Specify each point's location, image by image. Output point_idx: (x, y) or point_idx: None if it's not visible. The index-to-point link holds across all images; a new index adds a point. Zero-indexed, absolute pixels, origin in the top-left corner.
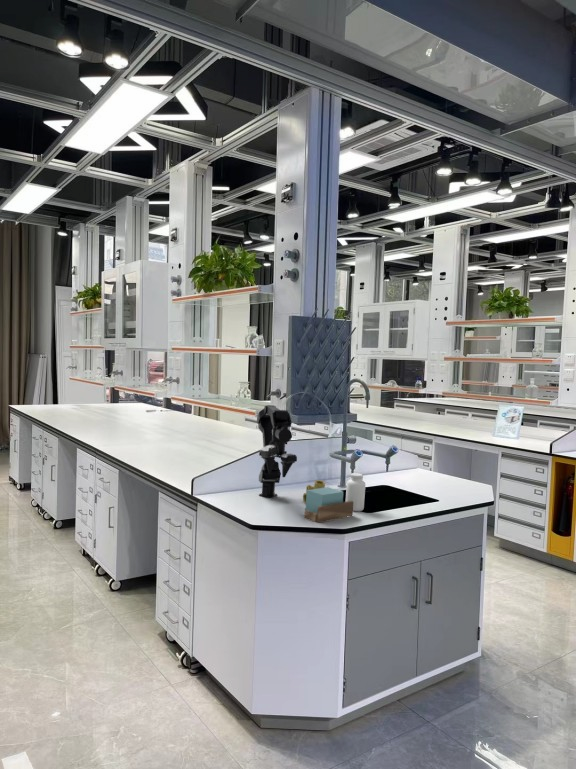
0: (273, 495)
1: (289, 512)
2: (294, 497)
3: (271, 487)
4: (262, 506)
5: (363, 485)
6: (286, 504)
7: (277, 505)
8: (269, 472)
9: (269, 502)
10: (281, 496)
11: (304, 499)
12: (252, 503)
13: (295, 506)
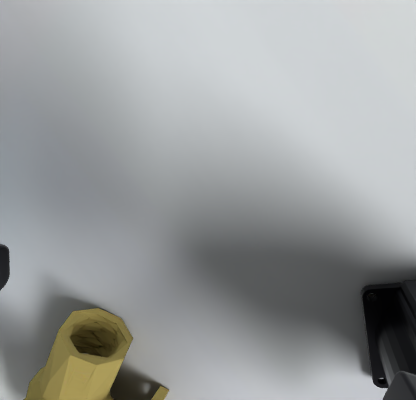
0: (372, 332)
1: (20, 43)
2: (246, 394)
3: (404, 364)
4: (253, 3)
5: None
6: (168, 209)
7: (191, 135)
8: (399, 387)
9: (291, 163)
10: (329, 369)
11: (121, 340)
12: (389, 8)
13: (100, 209)
